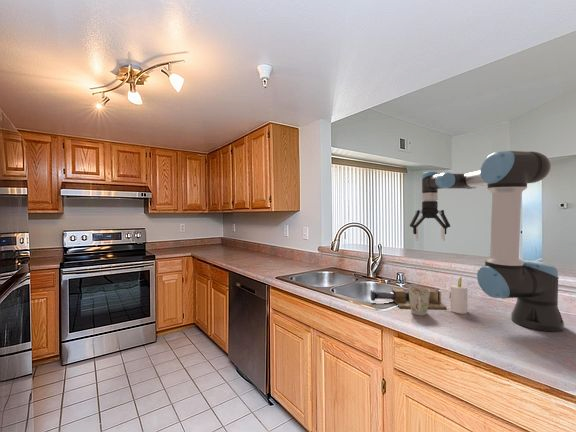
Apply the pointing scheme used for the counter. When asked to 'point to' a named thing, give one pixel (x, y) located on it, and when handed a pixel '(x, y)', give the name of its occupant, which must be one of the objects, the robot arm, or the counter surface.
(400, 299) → the brown board
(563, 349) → the counter surface
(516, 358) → the counter surface
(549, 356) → the counter surface
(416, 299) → the mug
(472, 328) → the counter surface
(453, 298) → the candle
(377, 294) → the pin
